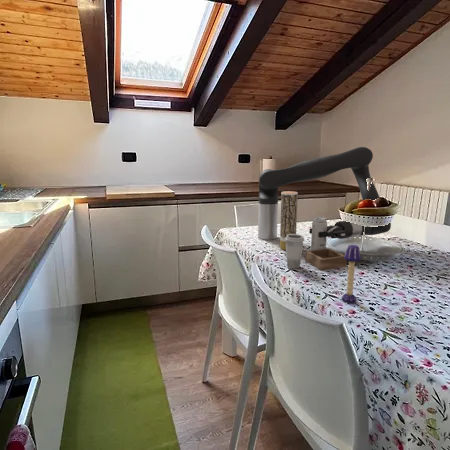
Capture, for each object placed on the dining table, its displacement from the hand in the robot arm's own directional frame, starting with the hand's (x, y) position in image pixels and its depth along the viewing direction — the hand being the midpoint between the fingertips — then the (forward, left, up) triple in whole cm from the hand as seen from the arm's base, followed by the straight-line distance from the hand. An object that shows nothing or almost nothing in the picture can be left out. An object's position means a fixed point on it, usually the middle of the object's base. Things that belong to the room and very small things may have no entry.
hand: (314, 232), depth 142 cm
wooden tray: (+12, -3, -9) cm, 15 cm away
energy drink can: (0, +2, -9) cm, 10 cm away
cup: (+11, -16, -9) cm, 21 cm away
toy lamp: (+41, -15, -9) cm, 44 cm away
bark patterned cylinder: (-10, -7, -9) cm, 15 cm away
